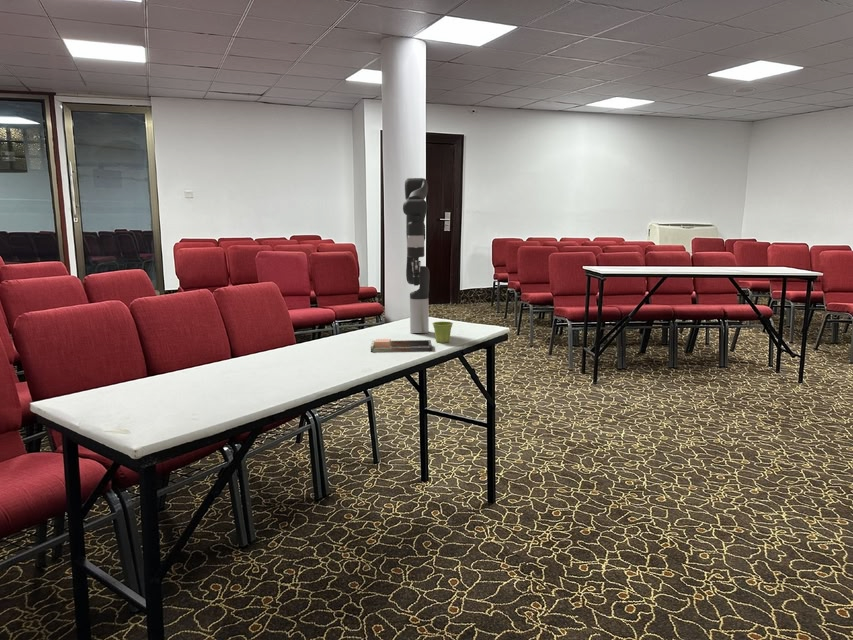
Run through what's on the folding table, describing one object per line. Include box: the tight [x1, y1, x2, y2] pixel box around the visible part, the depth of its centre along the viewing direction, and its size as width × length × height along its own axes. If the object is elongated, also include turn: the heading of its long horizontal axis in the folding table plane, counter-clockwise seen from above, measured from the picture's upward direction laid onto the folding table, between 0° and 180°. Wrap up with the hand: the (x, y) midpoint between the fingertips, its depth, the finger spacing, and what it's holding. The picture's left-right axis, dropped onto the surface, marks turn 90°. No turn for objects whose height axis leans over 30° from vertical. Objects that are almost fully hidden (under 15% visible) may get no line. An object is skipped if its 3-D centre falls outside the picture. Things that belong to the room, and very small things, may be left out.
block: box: [374, 338, 392, 348], centre depth 254 cm, size 6×6×4 cm
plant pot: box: [431, 321, 454, 344], centre depth 268 cm, size 9×9×9 cm
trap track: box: [370, 339, 433, 353], centre depth 254 cm, size 11×26×2 cm, turn 92°
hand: (416, 285), depth 258 cm, fingers closed
